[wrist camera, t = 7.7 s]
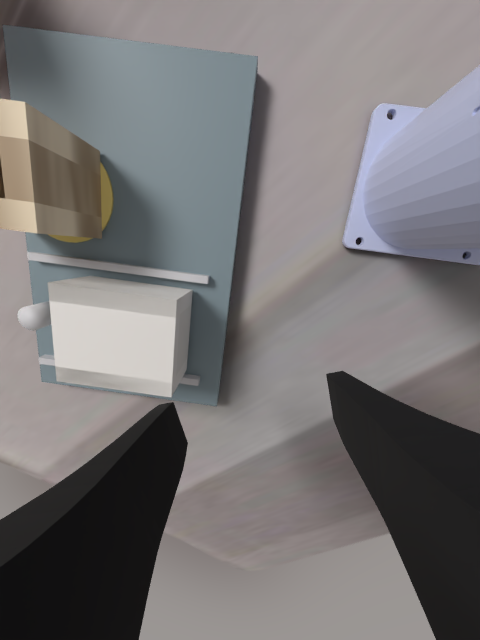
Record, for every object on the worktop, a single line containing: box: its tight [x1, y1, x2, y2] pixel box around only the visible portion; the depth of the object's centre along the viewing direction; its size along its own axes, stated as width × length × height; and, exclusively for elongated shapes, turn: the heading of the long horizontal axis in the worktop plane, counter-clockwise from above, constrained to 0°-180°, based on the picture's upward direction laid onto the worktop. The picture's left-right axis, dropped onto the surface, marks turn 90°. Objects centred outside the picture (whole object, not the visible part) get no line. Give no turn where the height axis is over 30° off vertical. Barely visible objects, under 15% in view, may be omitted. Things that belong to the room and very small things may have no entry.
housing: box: [48, 276, 193, 397], centre depth 16 cm, size 7×6×4 cm
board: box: [3, 25, 258, 406], centre depth 15 cm, size 14×22×4 cm, turn 173°
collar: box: [0, 99, 102, 239], centre depth 13 cm, size 5×5×5 cm
